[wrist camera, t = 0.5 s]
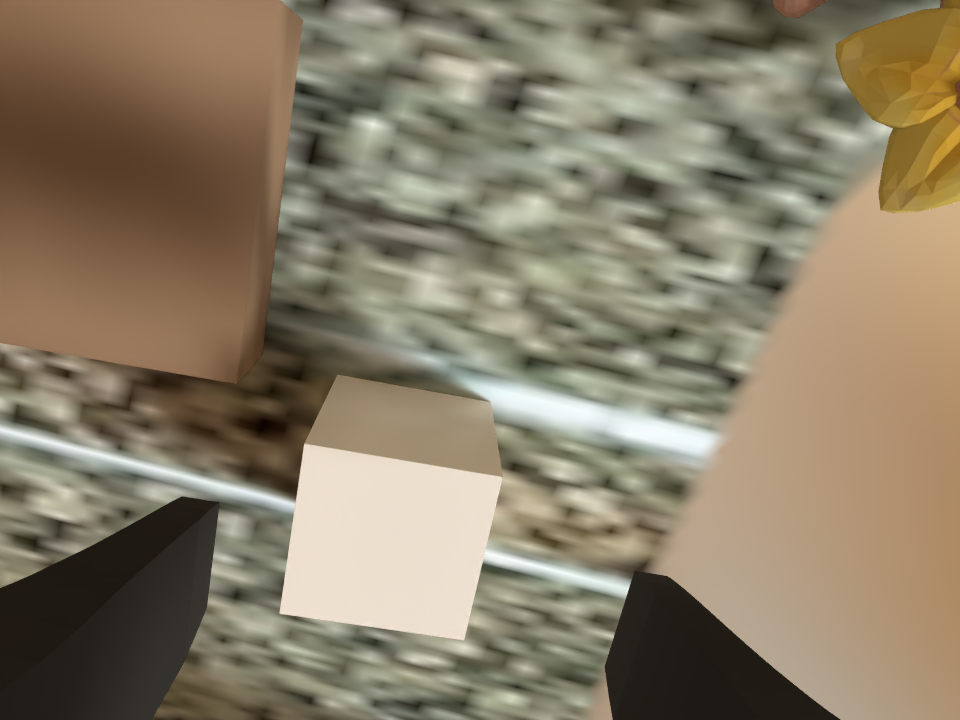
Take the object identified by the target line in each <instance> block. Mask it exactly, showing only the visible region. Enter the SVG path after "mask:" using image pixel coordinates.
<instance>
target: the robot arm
mask: <svg viewBox="0 0 960 720" xmlns="http://www.w3.org/2000/svg"><path fill="white" fill-rule="evenodd" d="M218 510H219V502H213V501H206V500H200V499H194V498H188V497H180V498H178V499H176V500H174V501H172V502H170V503H168V504H167V505H165V506H163V507H161V508H159V509H158V510H156V511H154V512H152V513H151V514H149V515H147V516H145V517H144V518H142V519H140V520H138V521H136V522H135V523H133V524H131V525H129V526H127V527H126V528H124V529H122V530H120V531H118V532H116V533H115V534H113V535H111V536H109V537H107V538H105V539H103V540H102V541H100V542H98V543H96V544H94V545H92V546H90V547H88V548H86V549H84V550H82V551H80V552H78V553H76V554H74V555H72V556H70V557H68V558H66V559H64V560H62V561H59V562H57V563H55V564H53V565H51V566H49V567H47V568H45V569H43V570H41V571H39V572H37V573H35V574H33V575H30V576H28V577H26V578H23V579H21V580H19V581H17V582H14V583H12V584H9V585H7V586H5V587H2V588H0V720H151V719H152V718H153V716H154V714H155V713H156V711H157V709H158V707H159V706H160V704H161V702H162V700H163V699H164V697H165V695H166V693H167V691H168V690H169V688H170V686H171V684H172V683H173V681H174V679H175V677H176V676H177V674H178V672H179V670H180V668H181V667H182V665H183V663H184V661H185V659H186V656H187V654H188V652H189V649H190V647H191V645H192V642H193V640H194V638H195V635H196V633H197V630H198V628H199V625H200V623H201V620H202V618H203V615H204V613H205V611H206V608H207V602H208V593H209V585H210V577H211V568H212V560H213V552H214V544H215V535H216V527H217V519H218ZM605 672H606V679H607V686H608V694H609V700H610V706H611V712H612V717H613V720H840V719H839V718H837V717H836V716H834V715H833V714H831V713H830V712H829V711H827V710H826V709H825V708H823V707H822V706H821V705H819V704H818V703H817V702H816V701H814V700H813V699H812V698H810V697H809V696H808V695H806V694H805V693H804V692H803V691H801V690H800V689H799V688H798V687H797V686H795V685H794V684H793V683H792V682H790V681H789V680H788V679H787V678H785V677H784V676H783V675H782V674H780V673H779V672H778V671H776V670H775V669H774V668H773V667H772V666H771V665H770V664H768V663H767V662H766V661H765V660H764V659H763V658H761V657H760V656H759V655H758V654H757V653H756V652H754V651H753V650H752V649H751V648H750V647H749V646H748V645H746V644H745V643H744V642H743V641H742V640H741V639H740V638H738V637H737V636H736V635H735V634H734V633H733V632H732V631H731V630H730V629H728V628H727V627H726V626H725V625H724V624H723V623H722V622H721V621H720V620H719V619H717V618H716V617H715V616H714V615H713V614H712V613H711V612H710V611H709V610H708V609H706V608H705V607H704V606H703V605H702V604H701V603H700V602H699V601H697V600H696V599H695V598H694V597H693V596H692V595H691V594H689V593H688V592H687V591H686V590H685V589H684V588H682V587H681V586H680V585H679V584H677V583H676V582H675V581H673V580H672V579H671V578H669V577H668V576H663V575H657V574H651V573H645V572H639V571H635V572H634V575H633V578H632V581H631V584H630V588H629V591H628V594H627V597H626V600H625V604H624V607H623V610H622V613H621V616H620V619H619V623H618V626H617V629H616V632H615V635H614V639H613V642H612V645H611V648H610V651H609V655H608V658H607V661H606V664H605Z"/></svg>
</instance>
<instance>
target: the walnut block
mask: <svg viewBox="0 0 960 720" xmlns="http://www.w3.org/2000/svg"><path fill="white" fill-rule="evenodd" d="M302 24H303V20H302V19H301V18H300V17H299V16H298V15H296V14H295V13H294V12H293V11H292V10H290V9H289V8H288V7H287V6H286V5H284V4H283V3H282V2H281V1H280V0H0V343H4V344H10V345H16V346H22V347H27V348H33V349H39V350H45V351H50V352H56V353H62V354H67V355H73V356H79V357H85V358H90V359H96V360H102V361H108V362H113V363H119V364H125V365H130V366H136V367H142V368H148V369H153V370H159V371H165V372H171V373H176V374H182V375H188V376H193V377H199V378H205V379H211V380H216V381H222V382H228V383H234V384H237V383H238V382H239V381H240V380H241V378H242V377H243V376H244V375H245V374H246V373H247V372H248V370H249V369H250V368H251V367H252V366H253V365H254V364H255V362H256V361H257V360H258V359H259V358H260V357H261V356H262V355H263V347H264V338H265V330H266V322H267V313H268V305H269V297H270V289H271V280H272V272H273V264H274V256H275V247H276V239H277V231H278V222H279V214H280V206H281V198H282V189H283V181H284V173H285V165H286V156H287V148H288V140H289V131H290V123H291V115H292V107H293V98H294V90H295V82H296V74H297V65H298V57H299V49H300V40H301V32H302Z"/></svg>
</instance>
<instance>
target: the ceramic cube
mask: <svg viewBox="0 0 960 720" xmlns="http://www.w3.org/2000/svg"><path fill="white" fill-rule="evenodd" d="M502 478H503V476H502V470H501V464H500V457H499V451H498V445H497V438H496V432H495V426H494V419H493V413H492V407H491V402H488V401H482V400H477V399H471V398H465V397H460V396H454V395H449V394H443V393H438V392H432V391H426V390H421V389H415V388H410V387H404V386H398V385H393V384H387V383H382V382H376V381H370V380H365V379H359V378H354V377H348V376H342V375H337V377H336V379H335V381H334V383H333V385H332V387H331V389H330V391H329V393H328V395H327V397H326V399H325V402H324V404H323V406H322V408H321V410H320V412H319V414H318V416H317V418H316V420H315V422H314V425H313V427H312V429H311V431H310V433H309V435H308V437H307V439H306V441H305V443H304V449H303V456H302V463H301V470H300V477H299V484H298V491H297V498H296V504H295V511H294V518H293V525H292V532H291V539H290V546H289V553H288V560H287V566H286V573H285V580H284V587H283V594H282V601H281V608H280V614H286V615H293V616H300V617H307V618H314V619H321V620H328V621H335V622H342V623H349V624H355V625H362V626H369V627H376V628H383V629H390V630H397V631H404V632H411V633H418V634H425V635H432V636H439V637H445V638H452V639H459V640H464V638H465V634H466V630H467V625H468V621H469V617H470V613H471V608H472V604H473V600H474V596H475V592H476V587H477V583H478V579H479V575H480V570H481V566H482V562H483V558H484V554H485V549H486V545H487V541H488V537H489V533H490V528H491V524H492V520H493V516H494V511H495V507H496V503H497V499H498V495H499V490H500V486H501V482H502Z"/></svg>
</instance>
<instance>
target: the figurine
mask: <svg viewBox="0 0 960 720" xmlns="http://www.w3.org/2000/svg"><path fill="white" fill-rule="evenodd" d="M826 1H828V0H773V7H774V8H775V9H776V10H777V11H779V12H780V13H781V14H782V15H783V16H784V17H793V18H799V17H801V16H803V15H804V14H806V13H808V12H810V11H811V10H813V9H815V8H816V7H818V6H819V5H821V4H822V3H824V2H826ZM836 59H837V62H838V65H839V69H840V72H841V75H842V78H843V80H844V82H845V83H846V85H847V86H848V88H849V89H850V91H851V92H852V93H853V95H854V96H855V98H856V99H857V101H858V102H859V104H860V105H861V106H862V107H863V109H864V110H865V111H866V112H867V113H868V115H869V116H870V117H871V118H872V120H875V121H877V122H879V123H882V124H884V125H886V126H889V127H891V128H893V130H892V132H891V134H890V137H889V141H888V145H887V150H886V154H885V158H884V163H883V168H882V174H881V180H880V187H879V200H880V209H881V210H883V211H887V212H892V213H901V212H919V211H924V210H928V209H932V208H936V207H939V206H944V205H948V204H952V203H954V202H958V201H960V0H941V4H940V8H936V9H927V10H920V11H917V12H914V13H911V14H907V15H904V16H901V17H898V18H894V19H891V20H888V21H885V22H882V23H880V24H877V25H874V26H871V27H869V28H866V29H863V30H860V31H858V32H855V33H854V34H852V35H850V36H849V37H847V38H846V39H844V40H842V41H841V42H839V43H837V44H836Z"/></svg>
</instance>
